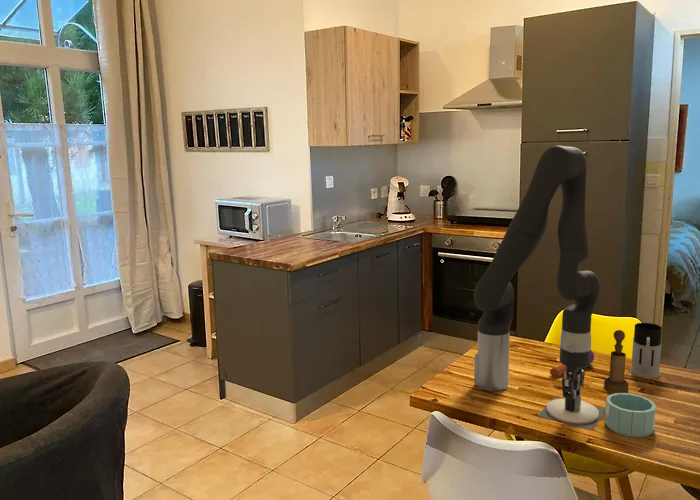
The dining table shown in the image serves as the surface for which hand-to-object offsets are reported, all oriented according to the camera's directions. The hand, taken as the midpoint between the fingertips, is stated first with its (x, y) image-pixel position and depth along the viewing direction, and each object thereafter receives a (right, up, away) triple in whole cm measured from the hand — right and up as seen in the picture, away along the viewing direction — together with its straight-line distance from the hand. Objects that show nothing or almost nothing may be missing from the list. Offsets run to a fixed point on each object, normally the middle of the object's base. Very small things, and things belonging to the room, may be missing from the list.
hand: (572, 407), depth 154 cm
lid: (0, -1, 0) cm, 2 cm away
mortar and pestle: (+19, +1, +15) cm, 24 cm away
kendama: (+12, +3, +31) cm, 33 cm away
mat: (0, -2, 0) cm, 2 cm away
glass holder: (+32, +3, +25) cm, 41 cm away
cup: (+11, -3, -8) cm, 14 cm away
